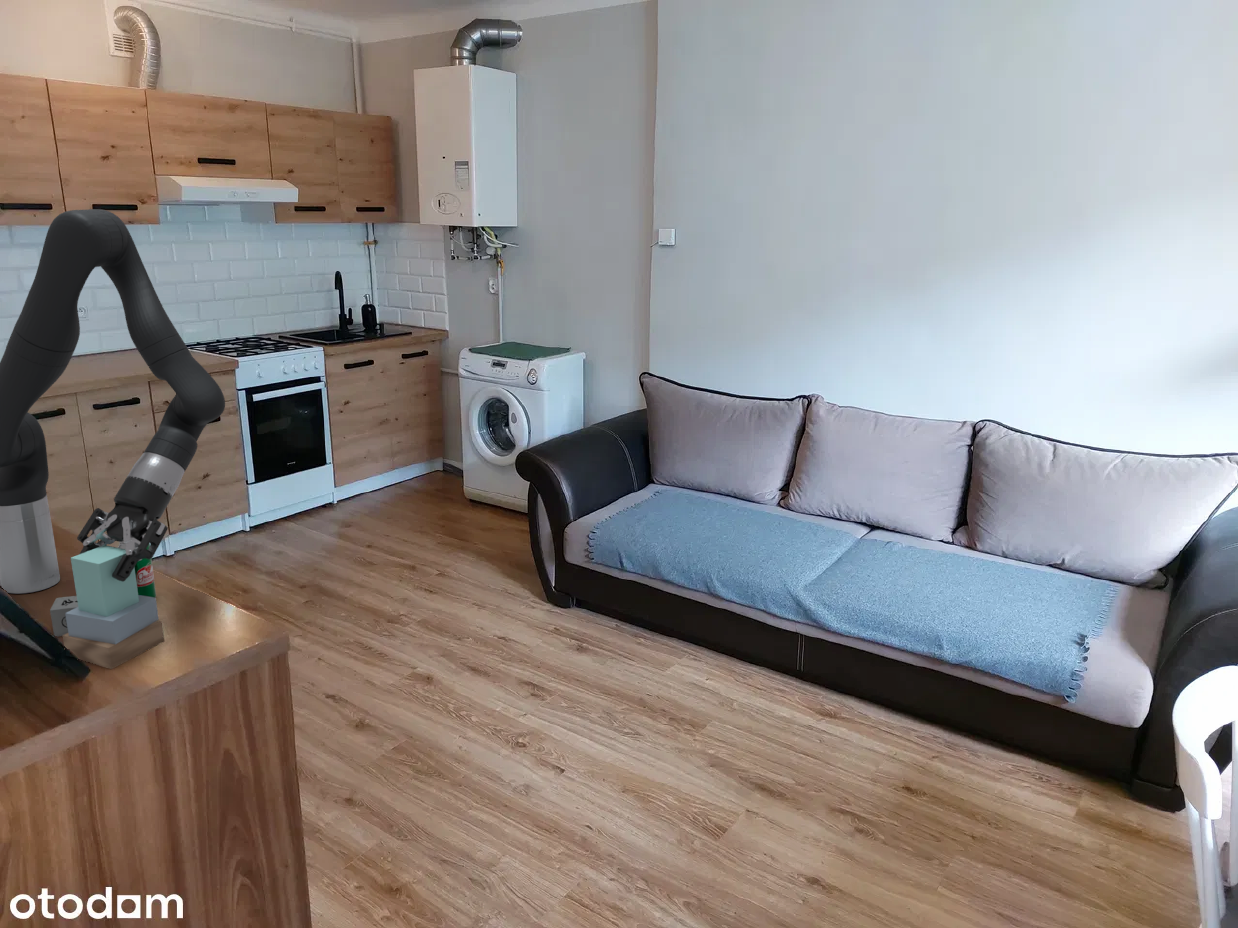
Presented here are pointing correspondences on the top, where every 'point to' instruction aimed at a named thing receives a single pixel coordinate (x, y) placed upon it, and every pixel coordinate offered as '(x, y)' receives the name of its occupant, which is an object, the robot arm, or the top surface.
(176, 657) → the top surface
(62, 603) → the dice cube
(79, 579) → the teal square block
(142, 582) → the soda can
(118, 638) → the slate block
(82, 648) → the walnut block
